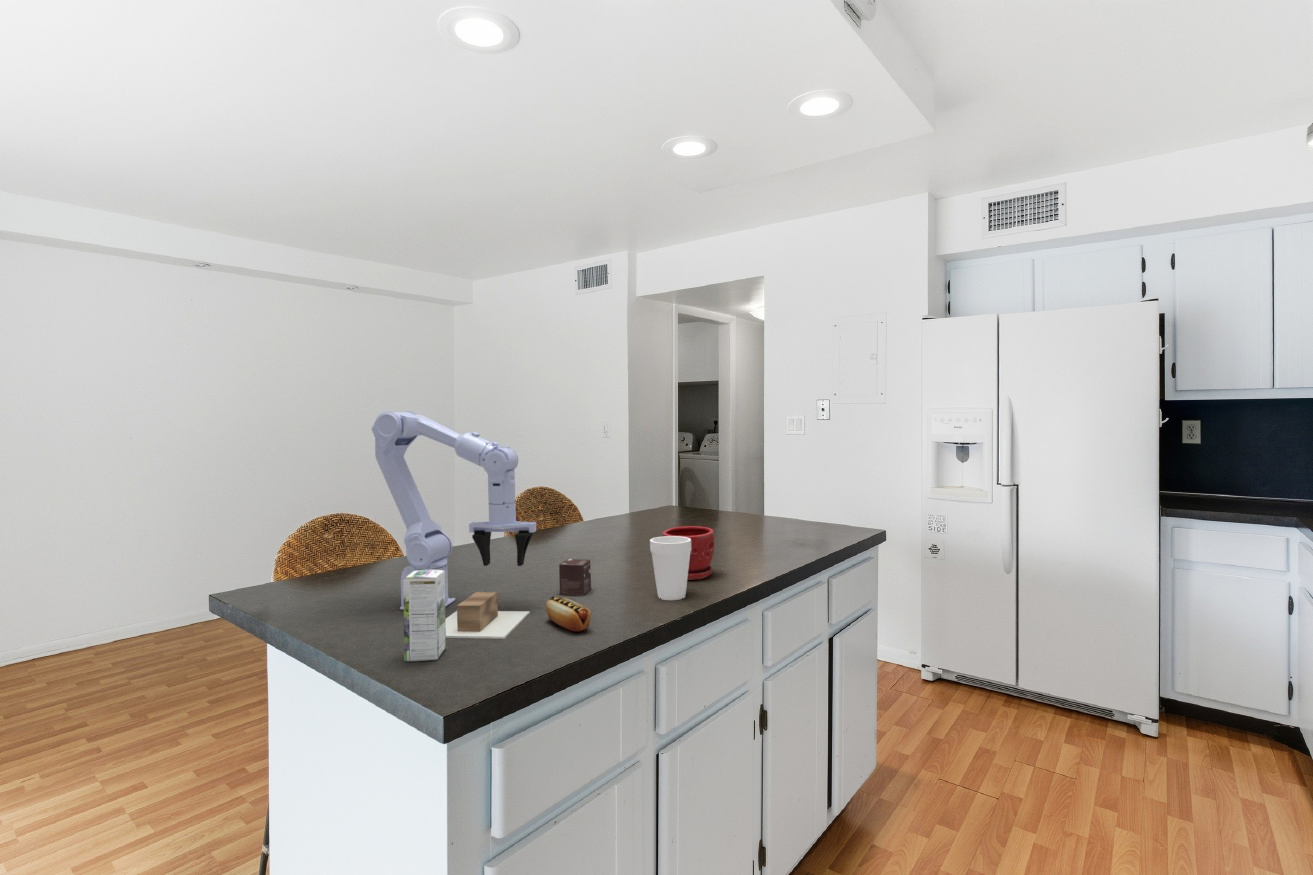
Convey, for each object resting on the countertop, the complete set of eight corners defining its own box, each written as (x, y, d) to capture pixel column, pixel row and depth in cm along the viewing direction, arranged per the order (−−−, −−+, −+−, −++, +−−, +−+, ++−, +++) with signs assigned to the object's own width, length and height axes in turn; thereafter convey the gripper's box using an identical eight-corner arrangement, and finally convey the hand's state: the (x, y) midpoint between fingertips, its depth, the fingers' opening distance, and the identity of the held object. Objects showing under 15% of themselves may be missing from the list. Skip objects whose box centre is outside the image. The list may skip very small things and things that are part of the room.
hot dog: (571, 638, 122) (571, 611, 122) (540, 621, 133) (540, 596, 133) (595, 632, 125) (594, 606, 125) (562, 616, 136) (562, 592, 135)
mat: (422, 637, 123) (422, 635, 123) (456, 612, 139) (456, 610, 139) (504, 638, 122) (504, 636, 122) (529, 613, 138) (529, 611, 138)
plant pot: (666, 570, 175) (665, 525, 174) (715, 570, 173) (715, 525, 172) (660, 582, 162) (659, 534, 161) (713, 583, 160) (712, 534, 160)
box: (583, 596, 150) (583, 564, 150) (559, 595, 152) (558, 564, 151) (591, 589, 156) (591, 559, 156) (567, 588, 158) (567, 558, 157)
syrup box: (413, 650, 117) (411, 569, 116) (447, 648, 117) (444, 568, 117) (403, 662, 111) (401, 577, 111) (439, 660, 111) (436, 576, 111)
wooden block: (476, 615, 135) (476, 591, 135) (497, 615, 135) (497, 591, 135) (457, 631, 125) (456, 605, 125) (480, 631, 125) (479, 605, 125)
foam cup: (669, 604, 142) (668, 545, 142) (642, 596, 149) (641, 540, 149) (700, 596, 148) (699, 539, 148) (673, 588, 155) (672, 534, 155)
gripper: (462, 505, 139) (464, 568, 139) (528, 505, 137) (530, 569, 137) (475, 501, 146) (477, 561, 146) (538, 500, 144) (540, 562, 144)
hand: (503, 564), depth 142 cm, fingers open, 7 cm apart
